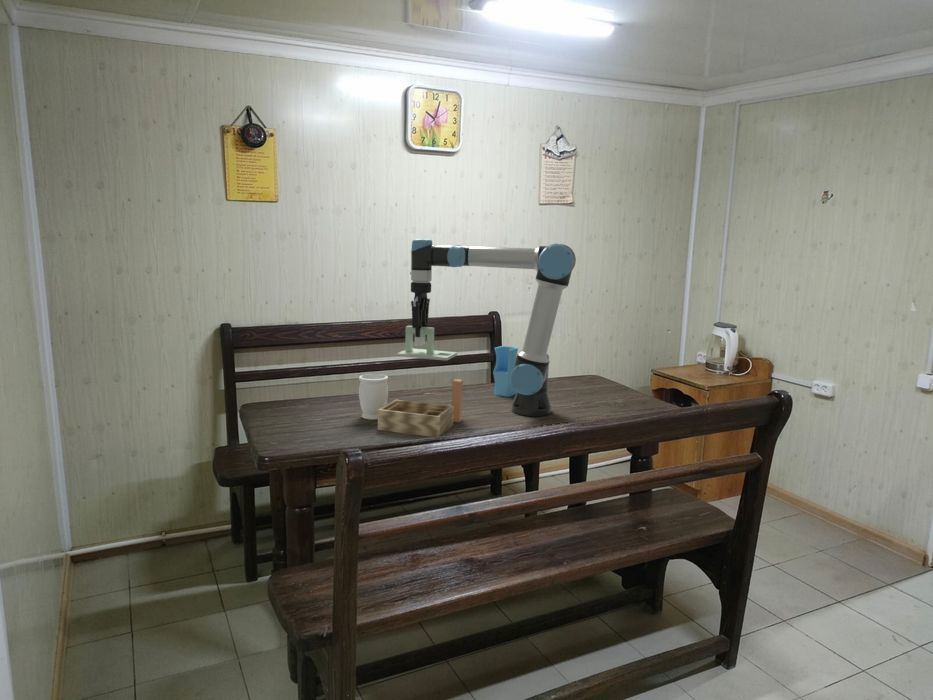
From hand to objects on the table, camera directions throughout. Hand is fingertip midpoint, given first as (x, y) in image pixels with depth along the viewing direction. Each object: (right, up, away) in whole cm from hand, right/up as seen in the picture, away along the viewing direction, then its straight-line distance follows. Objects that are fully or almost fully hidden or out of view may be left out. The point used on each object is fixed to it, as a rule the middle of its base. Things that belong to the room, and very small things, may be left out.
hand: (419, 344), depth 235 cm
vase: (+34, -21, +34) cm, 53 cm away
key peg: (+14, -28, -8) cm, 32 cm away
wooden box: (0, -29, -17) cm, 34 cm away
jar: (-16, -26, -6) cm, 32 cm away
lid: (+3, -4, 0) cm, 5 cm away
